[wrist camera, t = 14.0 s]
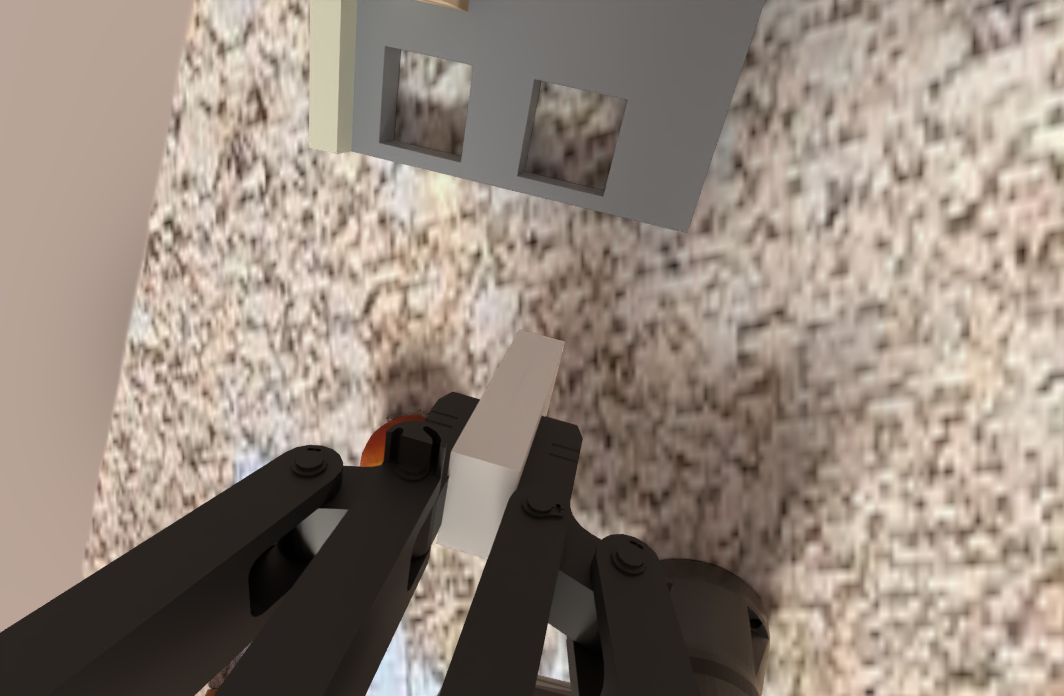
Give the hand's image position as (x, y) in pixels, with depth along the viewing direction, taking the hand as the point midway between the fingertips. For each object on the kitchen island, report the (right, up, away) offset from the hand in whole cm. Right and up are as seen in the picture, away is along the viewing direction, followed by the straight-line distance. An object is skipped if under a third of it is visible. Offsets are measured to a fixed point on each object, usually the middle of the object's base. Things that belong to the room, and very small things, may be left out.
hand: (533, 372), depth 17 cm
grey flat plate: (0, +20, +18) cm, 27 cm away
